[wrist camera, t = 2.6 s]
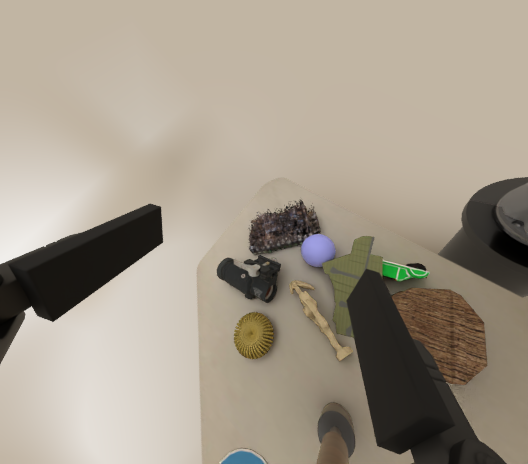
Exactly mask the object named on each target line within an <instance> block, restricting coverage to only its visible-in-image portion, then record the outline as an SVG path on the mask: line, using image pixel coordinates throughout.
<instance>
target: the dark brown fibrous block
mask: <svg viewBox="0 0 528 464" xmlns="http://www.w3.org/2000/svg"><path fill="white" fill-rule="evenodd" d="M299 200H300V199H299ZM300 201H301V200H300ZM300 201H299V202H300ZM290 202H292V201H290ZM295 202H296V201H295ZM288 204H289V203H288ZM297 204H300V206H299V205H297V207H296V206H293V207H294V208H293V207H292V206H291V207H290V206H289V207H290V208H291V209H288V208H289V207H287V206H286V209H285V208H284V210H283V211H285V212H283V211H282V209H281V208H280V209H281V211H280V213H279V214H278V213H276V212H274V213H275V214H274V213H273V214H272V213H271V212H270V213H268V212H267V213H266V212H265V214H263V215H262V214H260V215H261V216H260V215H256V217H257V216H258V217H259V219H258V217H257V220H256V222H255V221H251V223H253V224H254V227H253V225H251V226H252V228H251V233H250V235H249V241H250V246H249V247H250V248H249V249H250V251H251V252H252V253H253V254H254V256H255V254H257V253H258V254H259V253H267V252H268V253H271V252H272V251H273V250H275V251H276V250H278V249H281V250H282V248H287V247H292V246H294V245H295V246H298V244H299V245H302V244H303V242H304V240H305V239H306V238H308V237H309V236H311V235H314V234H318V233H320V232H321V230H319V228H320V227H319V222H318V219H317V216H316V213H315V212H314V209H312V210H313V211H312V210H308V211H306V206H305V205H304V204H303V202H302V201H301V202H300V203H298V202H297ZM290 205H291V204H290ZM303 205H304V206H303ZM284 206H285V205H284ZM311 206H312V205H311ZM292 208H293V209H292ZM311 208H312V207H311ZM309 209H310V208H309ZM268 210H269V209H268ZM269 211H270V210H269ZM275 211H276V210H275ZM278 211H279V210H278ZM278 211H277V212H278ZM309 211H311V212H309ZM281 212H283V213H281ZM307 212H309V213H308V214H307ZM257 214H258V212H257ZM266 214H267V215H266ZM268 214H269V215H268ZM254 218H255V217H254ZM248 229H250V228H248Z"/></svg>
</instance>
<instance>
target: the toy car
mask: <svg viewBox="0 0 528 464" xmlns="http://www.w3.org/2000/svg"><path fill="white" fill-rule="evenodd" d="M428 274H430V272H427V271H426V268H425V266H423V265H422V264H419V263H415V264H407V265H406V266H404V265H401V264H397V263H393V262H389V261H385V260H383V264H382V275H384V276H387V277H391V278H393V280H395V281H403V280H407V279H410V278H417V279H422V278H427V276H428Z"/></svg>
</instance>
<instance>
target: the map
mask: <svg viewBox="0 0 528 464" xmlns="http://www.w3.org/2000/svg"><path fill="white" fill-rule="evenodd" d="M373 241H374V237H371V236H362V237H360V238H358V239H355V240H354V243H353V247H352V251H351V254H348V255H345V256H342V257H339V258H336V259H333V260H330V261H327V262H324V263H322V266H323V269H324V272H325V274H329V276H330V279H331V281H332V284H333V286H334V291H335V302H336V307H335V311H334V316H333V321H334V322H336V331H337V334H342V335H345V336H349V337H353V338H354V334H353V330H352V325H351V320H350V316H349V311H348V306H347V302H346V300H347V299H348V297H349V296H350V294H351V292H352V291H353V289H354V287H355V286H356V284H357V283H358V281H359V279H360V278H361V276H362V274H363V273H364V271H365V270H366V269H369V270H373V271H376V272H379V273H380V275H381V277H382V264H383V257H380V256H375V255H371V254H370V253H371V249H372V245H373Z"/></svg>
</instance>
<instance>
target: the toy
mask: <svg viewBox="0 0 528 464" xmlns="http://www.w3.org/2000/svg"><path fill="white" fill-rule="evenodd" d="M298 286H299V287H302V288H305V289H312V290H314V289H315V288H314V287H313V286H311V285H309V284H307V283H304V282H301V281H296V280H295V281H292V282H291V283H290V285H289V287H290V293H291V294H293V290H294V289H295V290H296V291H297V293H298V294H299V297H300V301H301V303H302V304H303V306H304V307H305V308H304V309H302V310H303V311H304V313H305V314H306V316H307V317H309V318H310V319H311V320H313V321H314V322H315V323H316V325H317V326H319V328H320V330H321V332H322V333H325V335H326V336H327V337H328V339H329V340H330V343H331V345H332V346H333V347H334V349H335V350H336V351H337V355H336V357H337V359H338V360H339V361H341V360H342V359H343V358H345V357H346V356H348V355H349V354H350V353H352V352H353V351H352V350H351V348H350V347H341V346H340V345H339V344H338V342H337V340H336V338H335V337H334V334H333V332H332V331H331V330H330V328H329V325H328V323H327V322H326V320H325V318H324V317H323V316H322V315H320V313H319V312H318V311H317V305H316V304H317V303H316V302H315V300H314V299H313V298H312V297H311V296H310V295H309V294H308V293H307V292H306V291H304V293H302V291H301V290H300V289H299V287H298Z"/></svg>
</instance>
